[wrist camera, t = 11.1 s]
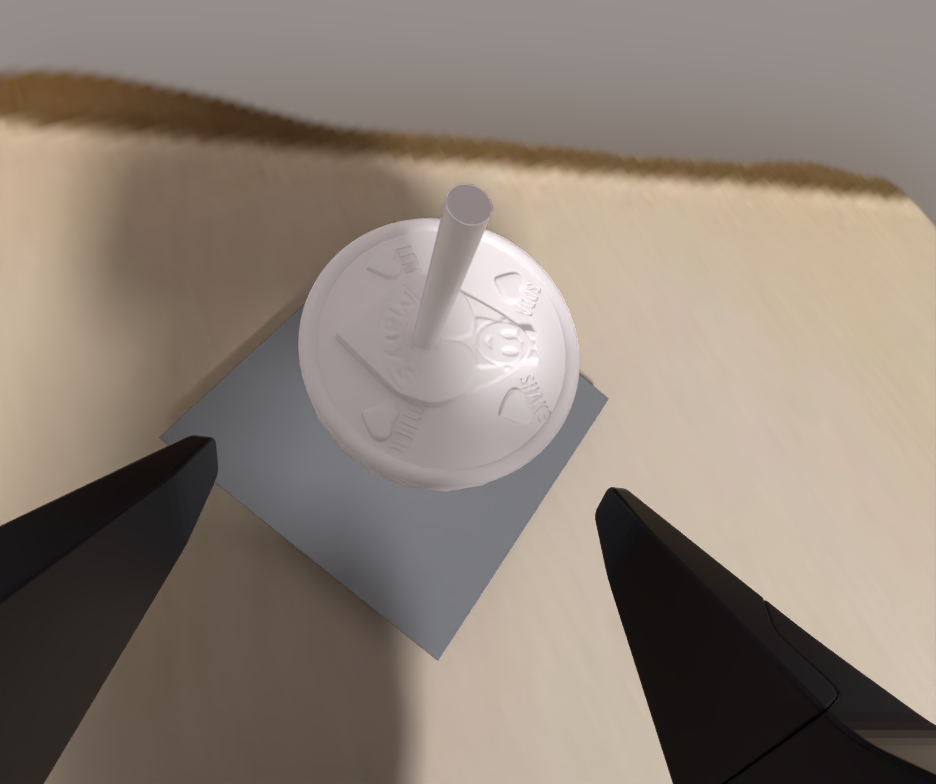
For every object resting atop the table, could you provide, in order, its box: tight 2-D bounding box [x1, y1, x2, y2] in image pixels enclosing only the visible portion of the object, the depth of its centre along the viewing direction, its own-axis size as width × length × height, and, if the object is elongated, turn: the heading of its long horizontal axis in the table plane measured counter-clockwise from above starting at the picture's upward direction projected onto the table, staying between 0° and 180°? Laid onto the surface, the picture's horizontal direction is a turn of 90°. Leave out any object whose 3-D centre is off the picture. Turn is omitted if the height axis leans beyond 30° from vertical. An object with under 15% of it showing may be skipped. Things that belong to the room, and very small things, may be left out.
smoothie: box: [298, 183, 580, 491], centre depth 11 cm, size 6×6×14 cm
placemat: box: [159, 221, 609, 661], centre depth 18 cm, size 14×14×1 cm
